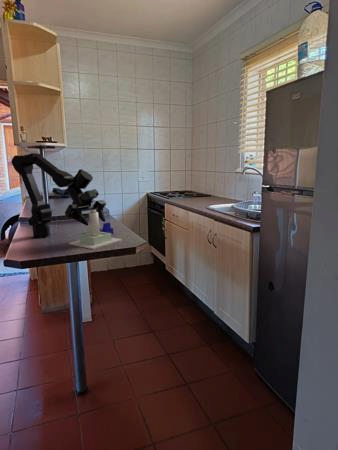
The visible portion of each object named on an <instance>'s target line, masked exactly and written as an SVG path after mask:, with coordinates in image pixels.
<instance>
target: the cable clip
mask: <svg viewBox="0 0 338 450" xmlns="http://www.w3.org/2000/svg"><path fill="white" fill-rule="evenodd" d="M99 229H100V232H105V233H111V235H114V228H112V227H111V222H109V221H108V222H103V223H102V229H101V228H100V227H99Z"/></svg>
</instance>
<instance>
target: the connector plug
mask: <svg viewBox="0 0 338 450" xmlns="http://www.w3.org/2000/svg"><path fill="white" fill-rule="evenodd" d="M99 220H100V218H99V216H98V212H96V210H89V212H88V221H89V222H88V225H89V233H90V235H89V237H97V236H101V235H100V229H101V228H100V221H99ZM99 228H100V229H99Z"/></svg>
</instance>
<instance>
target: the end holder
mask: <svg viewBox="0 0 338 450" xmlns="http://www.w3.org/2000/svg"><path fill="white" fill-rule="evenodd" d="M89 235H90V232H87V233H84V234H78V238H79V239H78V240H75V241H71V242H68V245H70V246H74V247H81V248H86V249H90V250H97V249H99V248H103V247H106V246H110V245H113V244H116V243H121V242H122V241H123V239H122V238H116V237H112V234H111V233H105V232H100V235H101V236H97V237H89Z"/></svg>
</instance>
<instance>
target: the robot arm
mask: <svg viewBox="0 0 338 450" xmlns="http://www.w3.org/2000/svg"><path fill="white" fill-rule="evenodd" d="M10 162H11V164H12V166H13V169H14V171H16V172H17V173H18V174H19V175H20V176H21V179H22V181H23V185H24V187H25V189H26V191H27V195H28V197H29V199H30V202H31V217H29V219H28V221H27V222H28V224H29V226H31V228H32V235H33V236H31V239H39V238H40V239H43V238H44V239H46V238H47V237H49V236H50V235H51V233H50V232H51V231H50V226H49V224H50V223H51V220H52V216H53V213H52V212H53V210H52V209H51V206H50V203H45V201H44V200H43V198H42V196H41V192H40V190H39V187H38V184H37V182H36V179H35V176H34V174H33V171H34V165H36V166H37V167H38V168H39V169H40V170H42V171H43V172H44V173H46V174H47V175H49V176H50V178H51V179H52V181H53V183H54V184H55V185H56V186H57V187H58V188H66V187H67V188H66V189H64V190H63V191H64V192H63V195H64V196H65V197H67V196H69V197H70V199H71V200H72V202H71V204H68V206H67V208H66V210H65V212H64V216H65V217H66V218H67V219H69V218H70V219H71V220H75V221H77V222H79V223H81V224H83V225H85V226H89V222H88V220H87V218H86V217H85V216H84V214H83V212H86V211H87V212H88V211H90V210H96V212H98V216H99V220H100V221H102V222H103V223H106V217H105V213H104V208H105V207H106V205H107V203H106V201H105V200H104V199H101V200H100V199H99V200H96V201H95V202H94V199H95V198H98V196H99V195H100V194H99V191H98V190H97V189H96V188H94V189H90V190H89V189H88V190H86V191H84V192H83V190H85V189H87V187H88V186H89V184H90V183H91V182H92V181H93V178H94V177H93V176H92V174H91V173H89V172H87V171H85V170H84V169H83V168H81V169H78V171H77V173H76V174H75V176H73V174H71V173H70V172H67V171H65V170H61V169H59V168H58V167H57V166H55V164H53V163H51V162H50V161H49V160H48V159H46V158H45V157H44V156H43V155H42V154H41V153H37V152H35V153H34V152H31V153H28V154H24V155H14V156H13V157H12V159H11V161H10ZM93 202H94V204H92V203H93Z"/></svg>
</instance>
